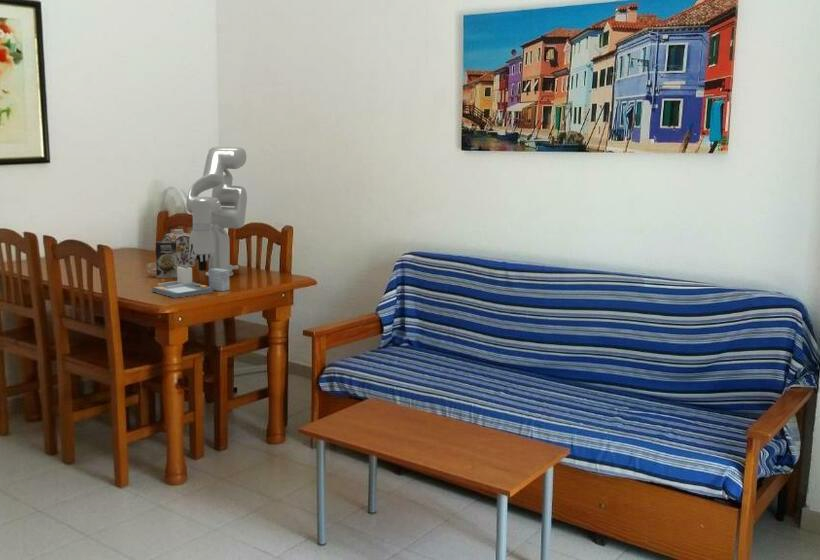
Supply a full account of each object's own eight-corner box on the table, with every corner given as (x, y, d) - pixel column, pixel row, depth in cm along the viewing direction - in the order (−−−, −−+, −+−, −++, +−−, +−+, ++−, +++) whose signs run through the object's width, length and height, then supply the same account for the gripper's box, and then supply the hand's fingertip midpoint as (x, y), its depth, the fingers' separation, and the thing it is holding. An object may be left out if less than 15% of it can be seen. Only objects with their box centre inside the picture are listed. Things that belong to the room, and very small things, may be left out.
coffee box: (156, 278, 363) (155, 242, 360) (156, 275, 369) (155, 240, 366) (177, 277, 365) (176, 242, 362) (177, 275, 371) (176, 240, 368)
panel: (190, 286, 347) (189, 279, 347) (213, 292, 336) (212, 285, 335) (152, 291, 334) (152, 284, 333) (174, 298, 323) (174, 290, 322)
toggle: (185, 282, 344) (185, 264, 342) (192, 284, 340) (192, 266, 339) (177, 283, 341) (177, 265, 339) (184, 285, 337) (183, 267, 336)
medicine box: (229, 290, 342) (229, 269, 341) (222, 291, 339) (222, 271, 337) (216, 287, 346) (215, 267, 345) (208, 289, 342) (208, 269, 341)
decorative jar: (195, 266, 394) (195, 230, 390) (173, 269, 386) (172, 231, 382) (184, 263, 402) (183, 227, 399) (162, 265, 395) (161, 229, 391)
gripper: (211, 225, 350) (212, 267, 353) (181, 227, 339) (182, 270, 342) (222, 227, 346) (222, 269, 349) (191, 229, 335) (192, 273, 337)
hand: (202, 270), depth 345 cm, fingers closed
